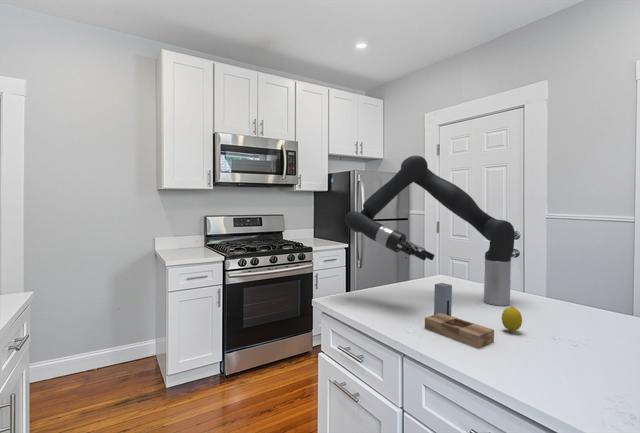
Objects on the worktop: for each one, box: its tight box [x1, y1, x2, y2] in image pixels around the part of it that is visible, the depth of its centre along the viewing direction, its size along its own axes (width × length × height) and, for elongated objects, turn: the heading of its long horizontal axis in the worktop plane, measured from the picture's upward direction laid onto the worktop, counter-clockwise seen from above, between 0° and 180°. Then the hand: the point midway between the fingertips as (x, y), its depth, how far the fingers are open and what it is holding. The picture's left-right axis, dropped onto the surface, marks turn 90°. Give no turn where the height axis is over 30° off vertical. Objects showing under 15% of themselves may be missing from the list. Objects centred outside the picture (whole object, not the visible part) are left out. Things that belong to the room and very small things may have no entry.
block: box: [433, 282, 453, 316], centre depth 117 cm, size 4×4×12 cm
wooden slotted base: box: [424, 313, 495, 349], centre depth 103 cm, size 8×18×4 cm, turn 35°
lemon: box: [501, 306, 523, 333], centre depth 106 cm, size 6×6×8 cm
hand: (429, 257), depth 120 cm, fingers open, 8 cm apart
